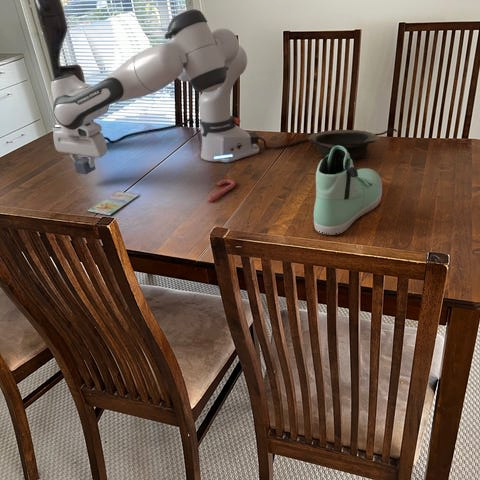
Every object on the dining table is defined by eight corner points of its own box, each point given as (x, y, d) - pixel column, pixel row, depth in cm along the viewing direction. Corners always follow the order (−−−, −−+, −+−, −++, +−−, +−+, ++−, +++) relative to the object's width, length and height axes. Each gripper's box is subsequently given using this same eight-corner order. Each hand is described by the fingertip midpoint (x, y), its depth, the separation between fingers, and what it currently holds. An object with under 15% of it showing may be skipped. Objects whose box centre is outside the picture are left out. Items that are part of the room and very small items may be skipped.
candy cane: (196, 199, 151) (195, 195, 150) (224, 181, 161) (224, 177, 160) (211, 203, 148) (210, 199, 147) (239, 184, 158) (238, 180, 157)
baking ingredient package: (86, 209, 148) (117, 190, 160) (87, 211, 148) (117, 191, 160) (109, 214, 145) (139, 194, 156) (109, 215, 145) (139, 195, 156)
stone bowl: (336, 174, 158) (335, 147, 154) (295, 157, 179) (293, 133, 174) (394, 156, 167) (394, 130, 163) (348, 141, 187) (348, 118, 183)
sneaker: (389, 187, 148) (396, 123, 138) (356, 242, 123) (361, 168, 112) (346, 181, 154) (350, 119, 144) (306, 232, 129) (307, 161, 118)
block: (76, 173, 164) (73, 161, 162) (86, 167, 167) (83, 156, 165) (86, 174, 162) (83, 163, 160) (95, 169, 166) (93, 157, 163)
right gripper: (44, 127, 158) (55, 165, 166) (92, 132, 150) (101, 173, 157) (58, 121, 163) (68, 159, 170) (105, 125, 155) (114, 165, 162)
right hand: (85, 165), depth 164 cm, fingers closed on block, 4 cm apart
